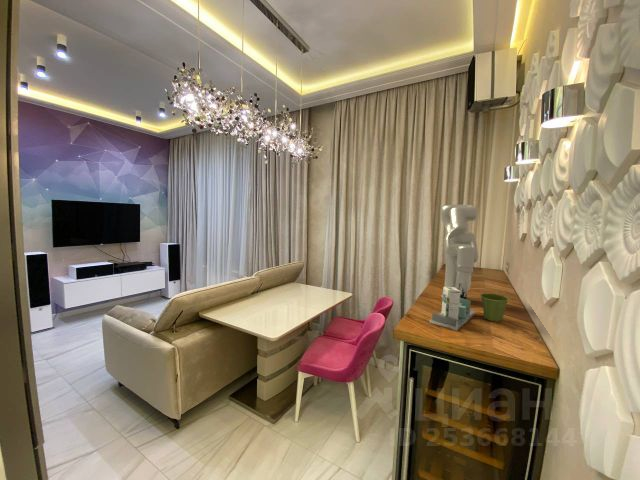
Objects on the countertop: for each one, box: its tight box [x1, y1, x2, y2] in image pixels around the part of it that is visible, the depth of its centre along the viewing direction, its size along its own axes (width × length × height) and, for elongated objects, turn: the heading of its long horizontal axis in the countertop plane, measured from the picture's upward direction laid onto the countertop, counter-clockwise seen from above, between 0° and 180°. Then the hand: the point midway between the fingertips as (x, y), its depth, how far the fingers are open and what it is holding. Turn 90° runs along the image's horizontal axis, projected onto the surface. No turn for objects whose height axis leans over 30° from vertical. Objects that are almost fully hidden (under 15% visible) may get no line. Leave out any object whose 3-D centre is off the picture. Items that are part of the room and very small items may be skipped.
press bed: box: [429, 309, 476, 331], centre depth 130 cm, size 28×12×4 cm, turn 136°
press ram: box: [458, 298, 472, 318], centre depth 133 cm, size 12×10×6 cm
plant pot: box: [479, 292, 510, 323], centre depth 129 cm, size 12×12×11 cm
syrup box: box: [441, 286, 460, 320], centre depth 126 cm, size 6×6×14 cm
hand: (462, 303), depth 139 cm, fingers closed
